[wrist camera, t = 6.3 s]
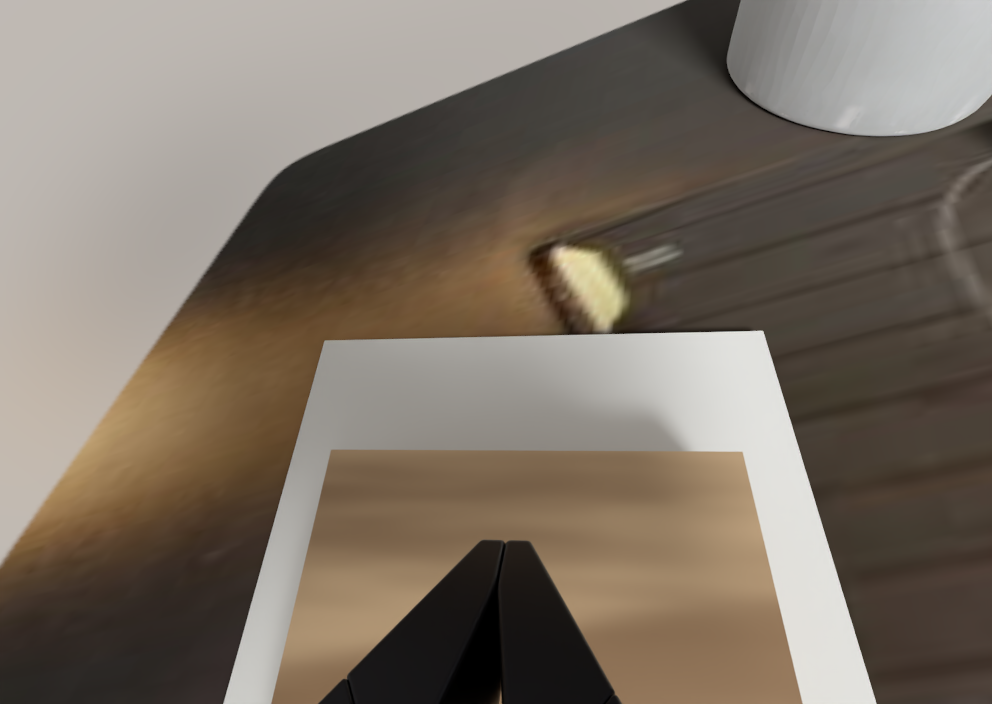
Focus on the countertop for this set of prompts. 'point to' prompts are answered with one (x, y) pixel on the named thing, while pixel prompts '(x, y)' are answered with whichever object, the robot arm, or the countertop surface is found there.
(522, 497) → the oak board
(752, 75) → the utensil holder
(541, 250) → the countertop surface
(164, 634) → the countertop surface
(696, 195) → the countertop surface
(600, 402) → the mat
